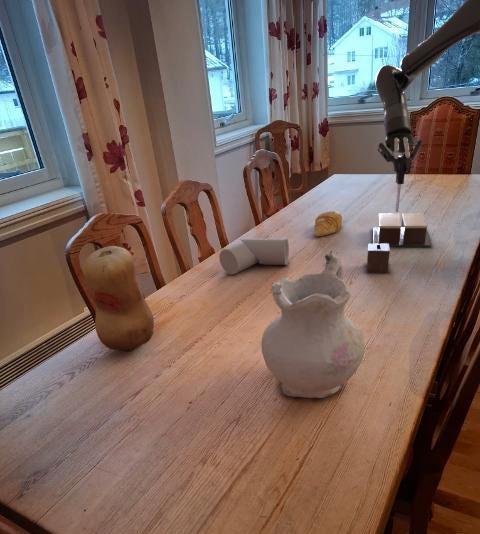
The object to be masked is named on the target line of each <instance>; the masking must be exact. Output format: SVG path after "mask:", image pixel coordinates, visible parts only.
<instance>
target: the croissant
mask: <svg viewBox="0 0 480 534" xmlns="http://www.w3.org/2000/svg"><path fill="white" fill-rule="evenodd" d="M342 223H343V217H342V215H341V214H340V213H337V212H335V211H325V212H323V213H321V214H319V215H318V216H317V217H316V218H315V220H314V231H313V235H314V236H315V237H323V236H328V235H331V234H335V233H337V232H338V231H339V230H340V229H341V226H342Z"/></svg>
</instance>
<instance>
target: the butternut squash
mask: <svg viewBox="0 0 480 534" xmlns="http://www.w3.org/2000/svg"><path fill="white" fill-rule="evenodd" d="M83 274H84V278H85V281H86V286H87V288H88V292H89V294H90V297H91V298H92V300H93V302H94V304H95V307H96V310H95V311H96V312H95V319H94V321H95V322H94V327H95V332H96V335H97V338H98V339H99V341H100V342H101V344H102V345H104V346H105V347H107V349H110V350H115V351H124V352H128V351H135V350H137V349H138V348H139V347H140V346H143V345H145V344H147V343H148V342H149V341H150V340H151V338H152V337H153V335H154V327H155V320H154V315H153V311H152V310H151V309H150V306H149V305H148V303H147V301H146V299H145V297H144V293H143V290H142V286H141V282H140V279H139V275H138V267H137V265H136V262H135V261H134V257H133V255H132V253H131V252H130V251H129V250H128V249H127V248H124V247H121V246H118V245H117V246H116V245H110V246H105V247H102V248H100V249H97V250H94V251H93V252H92V253H91V254H89V255H88V256H87V258H86V259H85V260H84V264H83Z"/></svg>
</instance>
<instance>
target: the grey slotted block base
mask: <svg viewBox="0 0 480 534" xmlns="http://www.w3.org/2000/svg"><path fill="white" fill-rule="evenodd" d="M427 230H428V224H427V221H426V219H425V215H424V213H423V212H403V213H402V215H401V217H400V213H399V212H394V213H391V212H388V213H386V212H385V213H378V223H377V227H373V228H372V235H373V237H372V238H373V239H372V240H373V241H372V242H373V243H372V244H389V248H428V249H429V248H431V246H432V245H431V241H430V239H429V236H428V233H427Z"/></svg>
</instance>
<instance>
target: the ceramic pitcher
mask: <svg viewBox="0 0 480 534" xmlns="http://www.w3.org/2000/svg"><path fill="white" fill-rule="evenodd" d="M324 258H325V264H324V269H323V270H322V271H321V272H316V273H307V274H304V275H302V276H299V278H298V279H295V280H293V279H291V278H286V277H280V278H279V280H278V281H277V282H274V281H272V282H271V283H272V284H271V287H270V288H269V290H270V293H271V295H272V297H273V300H274V303H275V304H276V306H277V307H278V309H280V312H281V315H279V316H277V317H276V318H274V319H273V320H272V321H270V323H269V324H268V326H266V328H265V329H264V331H263V333H262V337H261V353H262V357H263V360H264V363H265V365H266V367H267V369H268V370H269V372H270V373H271V374H272V375H273V377H275V378H276V379H277V380H278V382H280V383H281V386H280V388H281V390H282V393H283V395H285V396H287V397H295V398H297V397H298V398H307V399H308V398H309V399H325V398H328V397H331V396H333V395H334V394H336V393H337V392H338V391H339V390H341V389H342V387H343V386H342V385H344V384H345V383H346V382H348V381H349V380H350V379H351V378H352V377H353V376H354V375H355V373H356V372H357V371H358V369H359V367H360V365H361V363H362V361H363V358H364V355H365V349H366V346H365V345H366V344H365V338H364V335H363V333H362V331H361V330H360V328H359V326H358V325H357V324H356V323H355V322H354V321H352V320H351V319H349V318H348V317H347V316H346V315H345V308H346V305H347V303H348V301H349V300H350V298H351V291H349V290H348V286H347V285H346V283H345V281H344V280H343V279H344V265H343V261H342V259H341V258H340V256H339V255H338V251H337V252H336V250H334V251H333V250H329V251H328V252H327V253H326V254H325V256H324Z"/></svg>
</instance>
